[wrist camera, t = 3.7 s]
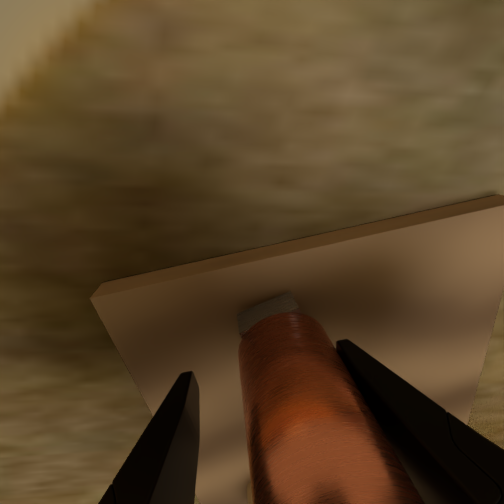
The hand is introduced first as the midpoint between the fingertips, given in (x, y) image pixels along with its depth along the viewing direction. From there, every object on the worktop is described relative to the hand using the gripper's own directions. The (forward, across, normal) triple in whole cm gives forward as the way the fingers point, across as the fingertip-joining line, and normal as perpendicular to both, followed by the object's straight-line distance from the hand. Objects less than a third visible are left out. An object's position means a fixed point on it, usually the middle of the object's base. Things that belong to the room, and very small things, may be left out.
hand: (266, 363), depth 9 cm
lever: (+2, -2, +6) cm, 7 cm away
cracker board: (+3, -3, +8) cm, 9 cm away
